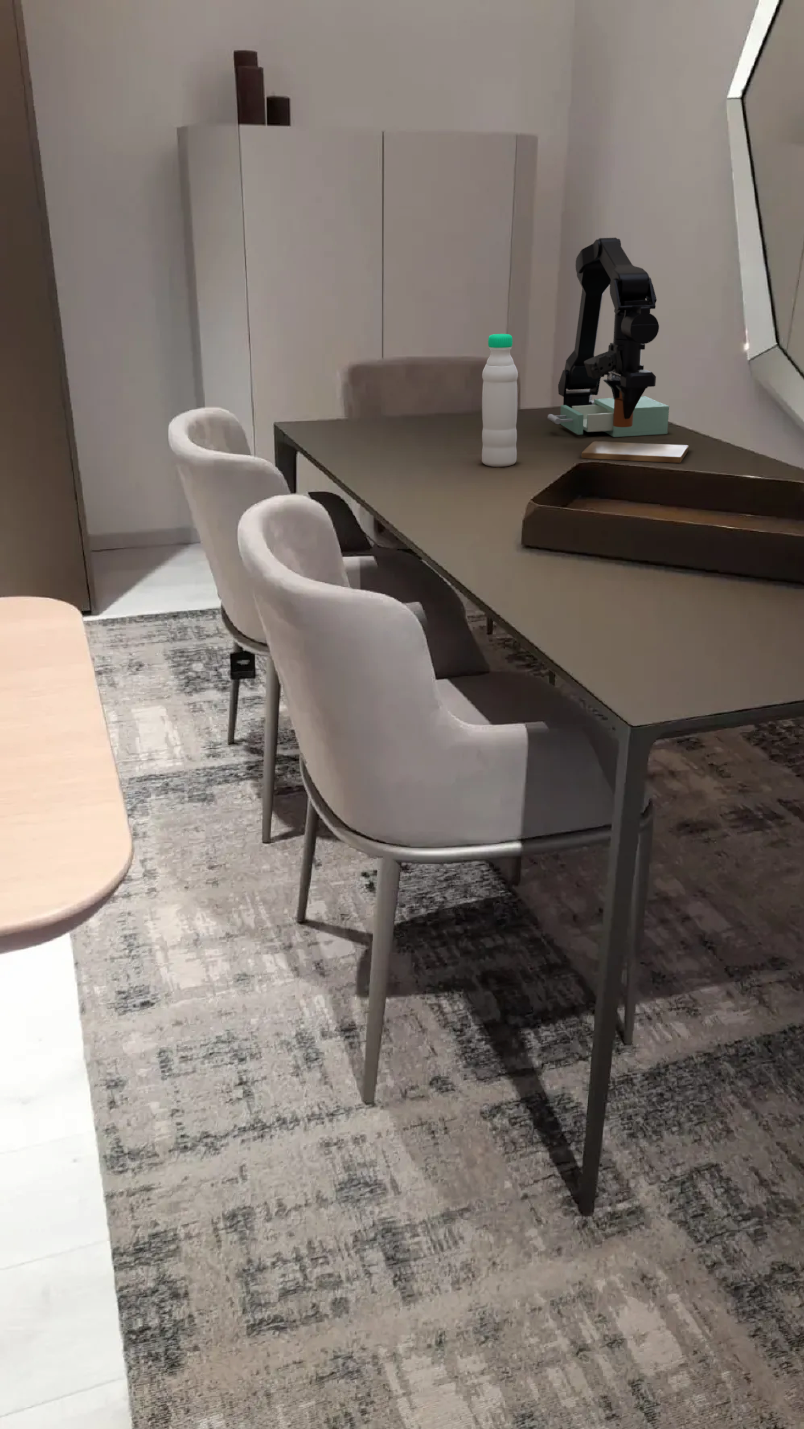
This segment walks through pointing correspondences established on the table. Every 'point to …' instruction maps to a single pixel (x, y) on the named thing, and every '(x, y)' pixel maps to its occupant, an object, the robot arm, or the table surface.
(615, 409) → the bottle
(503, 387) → the water bottle
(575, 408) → the drawer
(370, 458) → the table surface
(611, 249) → the robot arm
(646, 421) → the cabinet
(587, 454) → the board
